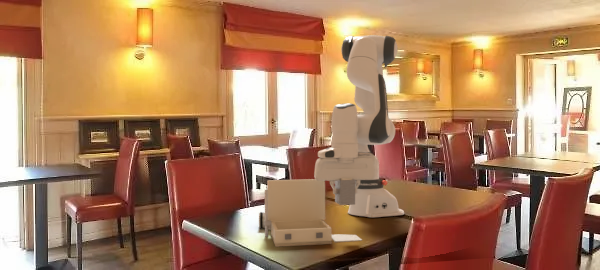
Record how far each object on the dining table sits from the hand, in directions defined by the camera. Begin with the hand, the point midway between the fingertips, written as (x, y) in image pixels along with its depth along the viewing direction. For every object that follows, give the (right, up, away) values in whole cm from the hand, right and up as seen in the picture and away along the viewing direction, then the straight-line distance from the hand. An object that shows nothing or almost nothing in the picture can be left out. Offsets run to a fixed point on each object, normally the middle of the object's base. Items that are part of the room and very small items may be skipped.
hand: (344, 193), depth 153 cm
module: (0, -3, 0) cm, 3 cm away
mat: (0, -15, 0) cm, 15 cm away
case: (-15, -15, -1) cm, 21 cm away
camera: (-26, -15, +16) cm, 34 cm away
